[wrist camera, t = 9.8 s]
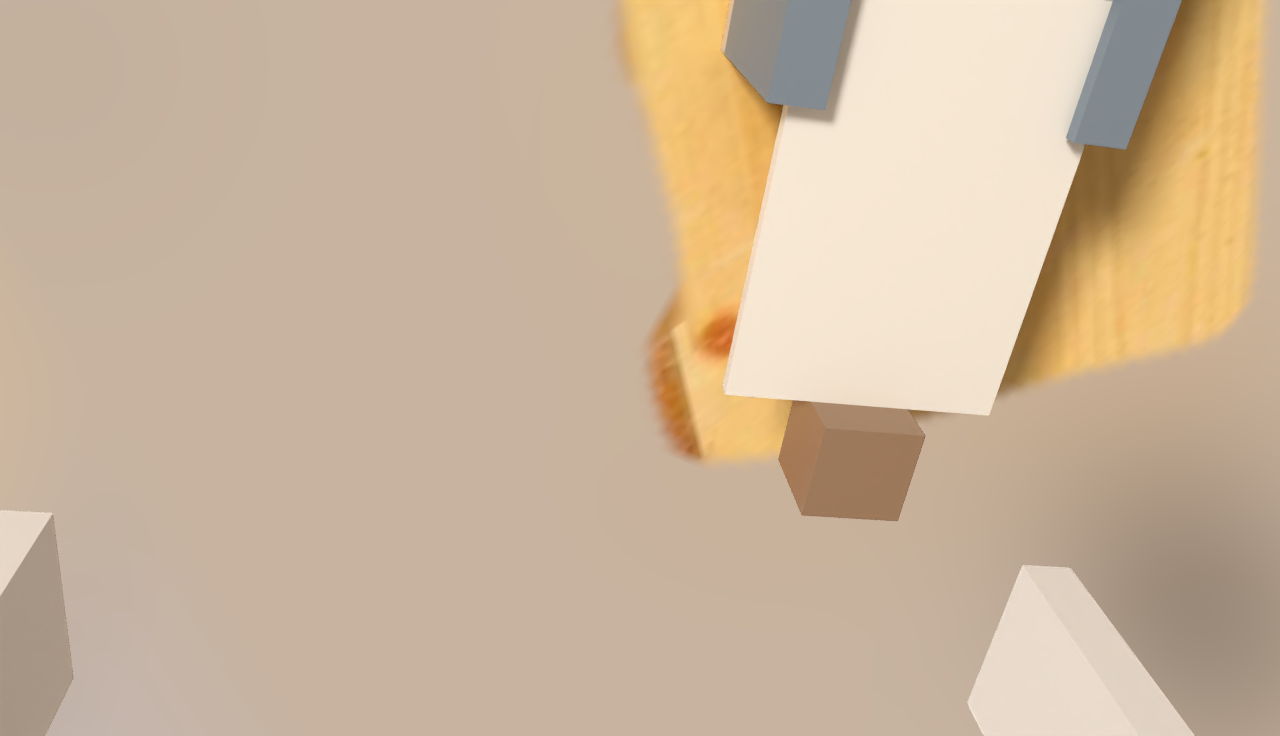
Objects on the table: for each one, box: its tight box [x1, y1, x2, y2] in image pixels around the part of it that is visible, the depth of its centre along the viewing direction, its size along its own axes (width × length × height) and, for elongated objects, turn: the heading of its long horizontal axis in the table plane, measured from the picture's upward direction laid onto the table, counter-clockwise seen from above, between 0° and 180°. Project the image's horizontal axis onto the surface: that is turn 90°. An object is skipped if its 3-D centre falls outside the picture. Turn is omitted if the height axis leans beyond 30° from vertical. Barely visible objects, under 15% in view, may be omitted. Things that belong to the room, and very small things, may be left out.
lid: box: [722, 0, 1113, 521], centre depth 39 cm, size 20×11×4 cm, turn 171°
